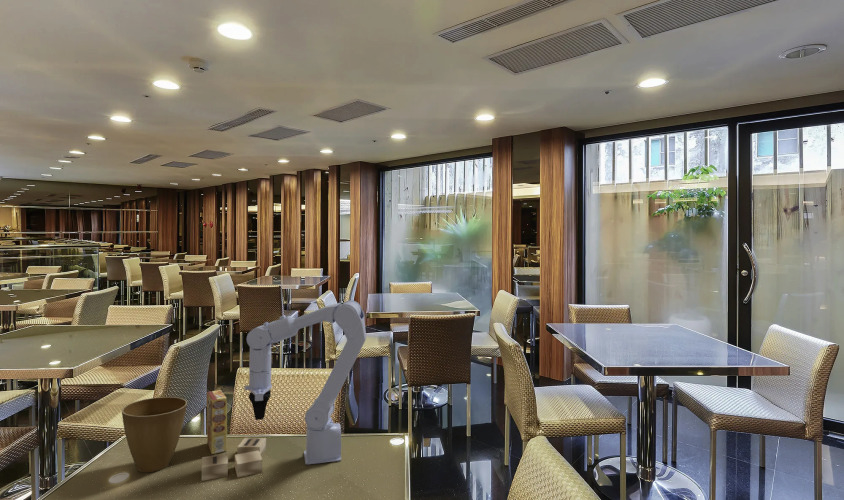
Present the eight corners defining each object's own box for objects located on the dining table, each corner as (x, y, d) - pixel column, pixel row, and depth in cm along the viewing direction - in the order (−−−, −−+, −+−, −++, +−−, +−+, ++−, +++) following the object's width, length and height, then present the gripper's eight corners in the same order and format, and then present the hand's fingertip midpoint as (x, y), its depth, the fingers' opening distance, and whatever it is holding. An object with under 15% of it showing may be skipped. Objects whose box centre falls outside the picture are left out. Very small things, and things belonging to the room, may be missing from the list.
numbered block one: (226, 466, 124) (227, 452, 124) (227, 476, 118) (227, 462, 118) (201, 470, 121) (202, 456, 121) (201, 481, 116) (201, 466, 116)
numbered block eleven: (265, 450, 134) (266, 437, 134) (259, 459, 128) (259, 446, 128) (244, 450, 134) (244, 437, 134) (237, 459, 128) (237, 446, 128)
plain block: (258, 463, 126) (258, 450, 126) (262, 473, 121) (262, 459, 121) (234, 468, 123) (234, 454, 123) (237, 478, 118) (237, 464, 118)
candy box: (227, 451, 132) (228, 397, 132) (211, 455, 130) (211, 400, 130) (221, 440, 140) (222, 389, 139) (205, 443, 137) (206, 391, 137)
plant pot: (114, 484, 113) (115, 418, 113) (127, 458, 127) (128, 399, 127) (183, 474, 119) (184, 411, 119) (188, 450, 133) (189, 393, 132)
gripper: (246, 364, 135) (246, 411, 135) (242, 377, 121) (242, 430, 121) (272, 362, 137) (271, 408, 137) (271, 376, 123) (270, 427, 123)
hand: (259, 418), depth 129 cm, fingers closed
